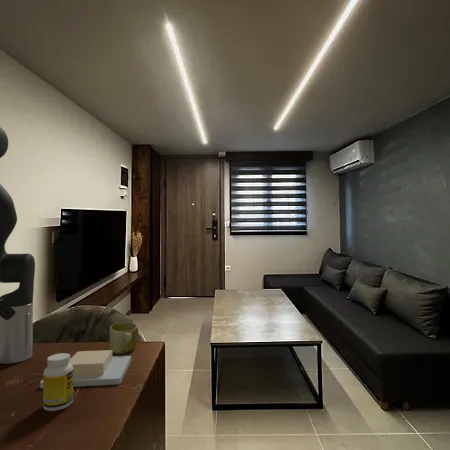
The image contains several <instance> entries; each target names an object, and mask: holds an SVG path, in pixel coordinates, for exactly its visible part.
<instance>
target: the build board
mask: <svg viewBox="0 0 450 450" xmlns="http://www.w3.org/2000/svg"><path fill="white" fill-rule="evenodd" d="M131 362H132V355H121V356H120V355H119V356H118V355H116V356H113V352H112V350H110V349H107V350H104V349H103V350H85V351H84V350H83V351H81V350H80V351H77V352H76V353H75V354H73V356H72V357H70V362H69V363H70V364H71V365H72V366H73V388H74V387H75V388H76V387H87V386H88V387H90V386H92V387H93V386H110V385H112V386H113V385H121V383H122V381H123V380H124V379H123V378H124V377H125V375H126V373H127V370H128V368H129V366H130V364H131ZM39 389H43V379H42V380H40V382H39Z"/></svg>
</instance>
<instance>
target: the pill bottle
mask: <svg viewBox="0 0 450 450" xmlns="http://www.w3.org/2000/svg"><path fill="white" fill-rule="evenodd" d="M70 358H71V356H70V354H69V353H66V352H65V353H63V352H62V353H55V354H52V355H50V356H48V357H47V359H46V361H47V363H46V364H47V366H46V367H45V369H44V371H43V374H42V375H43V376H42V378H43V379H42V380H43V388H42V389H43V390H42V408H43V409H44V410H45V411H48V412H57V411H60V410H64V409H66V408H68V407H70V405H72V403H73V401H74V387H73V366H72V365H71V364H70V363H69V362H70Z"/></svg>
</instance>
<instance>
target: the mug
mask: <svg viewBox="0 0 450 450" xmlns="http://www.w3.org/2000/svg"><path fill="white" fill-rule="evenodd" d="M138 327H139V326H138V325H137V324H136V323H135V322H134V323H133V322H130V321H120V322H119V321H117V322H114V323H113V324H111V325H110V326H109V330H108V332H109V334H108V335H109V345H108V348H109V349H108V350H112V353H113V352H114V353H113V354H126V352H127V353H128V352H131V351H133V350H134V349H136V346H137V340H138V333H139V328H138Z"/></svg>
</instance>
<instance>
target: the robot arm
mask: <svg viewBox="0 0 450 450" xmlns="http://www.w3.org/2000/svg"><path fill="white" fill-rule="evenodd" d="M8 148H9V138H8V135H7V132H6V131H5V130H4V129H3V128H2V127H1V126H0V159H1V158H3V157H4V156H5V155H6V153H7V151H8ZM17 223H18V215H17V211H16V207H15V203H14V200H13V198H12V196H11V194H9V192H8V191H7V190H6V188H4V187H3V185H2V184H1V183H0V283H1V284H13V283H14V284H16V283H19V285H18V287H17V288H16V289H15V290H13V291H12V292H11V291H10V292H8V293H5V294H2V295H0V364H2V365H3V364H5V365H8V364H16V363H19V362H24V361H27V360H28V359H30V358H32V357H33V348H34V347H33V339H34V337H33V333H34V332H33V329H34V328H33V327H34V325H33V324H34V323H33V322H34V321H33V319H34V317H33V316H34V315H33V314H34V311H33V310H34V309H33V308H34V290H35V287H34V286H35V275H36V274H35V272H36V261H35V258H34V256H33V255H32V254H31V253H7V251H6V246H5V245H6V243H7V241H8V239H9V237H10V236H11V234H12V232H13V231H14V229H15V227H16V225H17Z"/></svg>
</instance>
